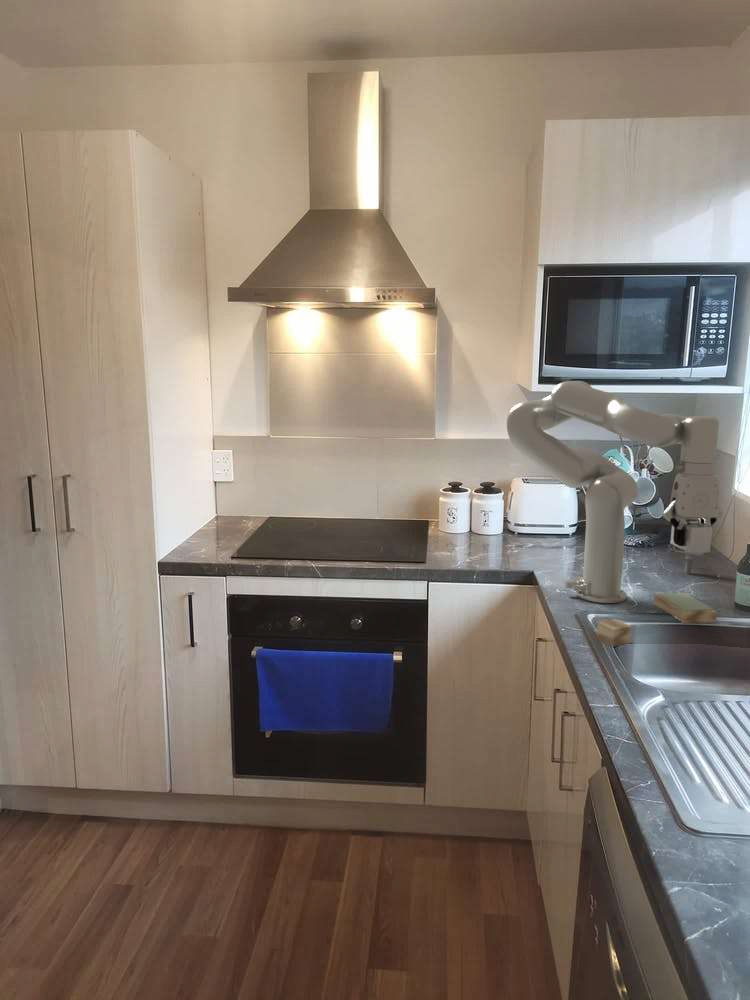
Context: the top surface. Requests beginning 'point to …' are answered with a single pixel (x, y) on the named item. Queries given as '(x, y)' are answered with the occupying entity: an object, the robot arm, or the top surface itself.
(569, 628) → the top surface
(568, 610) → the top surface
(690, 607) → the wooden block
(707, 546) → the housing
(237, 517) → the top surface
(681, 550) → the mechanical component
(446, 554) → the top surface
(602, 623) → the ash block
